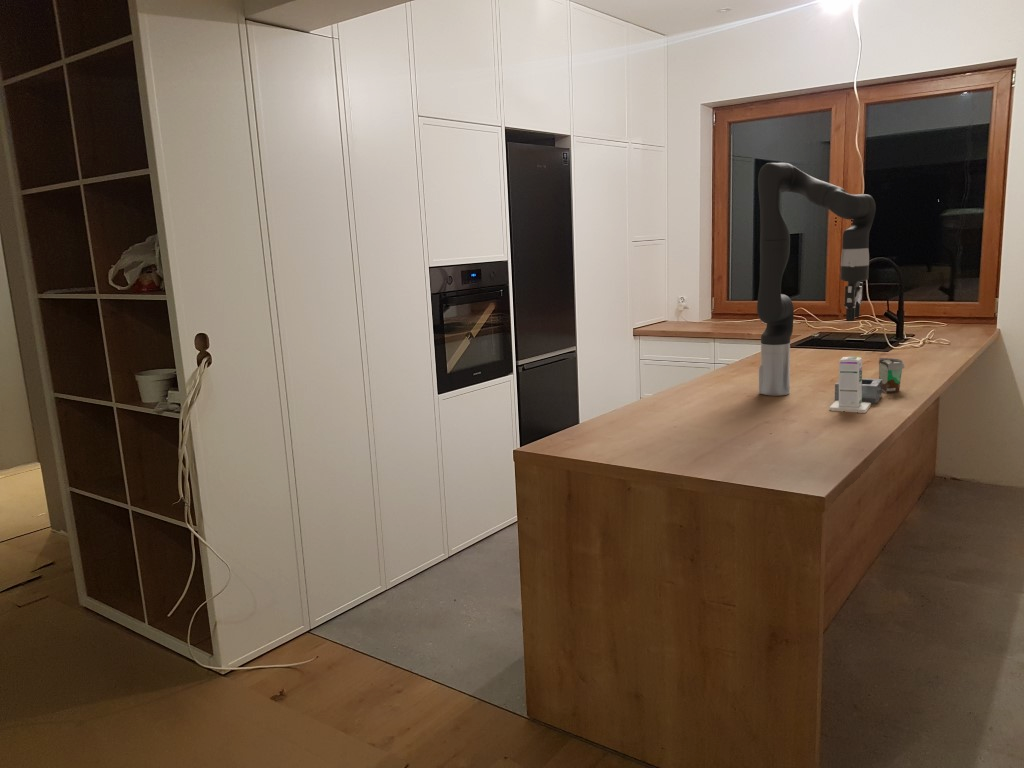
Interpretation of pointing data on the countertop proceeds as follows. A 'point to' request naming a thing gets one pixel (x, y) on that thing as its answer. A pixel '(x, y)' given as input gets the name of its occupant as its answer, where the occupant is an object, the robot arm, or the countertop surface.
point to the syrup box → (850, 381)
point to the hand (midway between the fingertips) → (852, 319)
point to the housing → (866, 390)
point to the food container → (890, 374)
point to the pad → (860, 409)
